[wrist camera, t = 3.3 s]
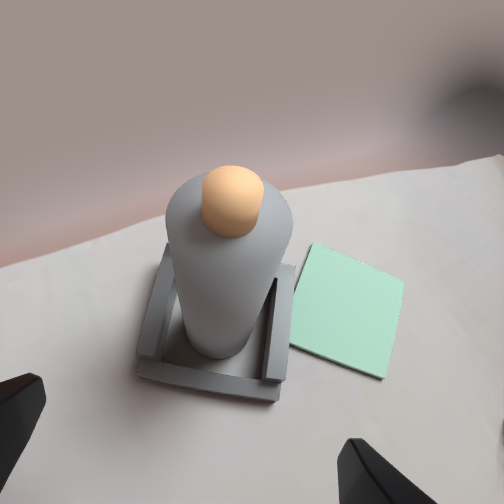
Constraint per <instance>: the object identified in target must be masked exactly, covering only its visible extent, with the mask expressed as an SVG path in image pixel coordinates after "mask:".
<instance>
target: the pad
mask: <svg viewBox="0 0 504 504" xmlns="http://www.w3.org/2000/svg"><path fill="white" fill-rule="evenodd" d="M403 289H404V281H402V280H399V279H397V278H395V277H393V276H391V275H388V274H386V273H384V272H382V271H379V270H377V269H375V268H373V267H370V266H368V265H366V264H364V263H361V262H359V261H357V260H355V259H352V258H350V257H348V256H345V255H343V254H341V253H339V252H336V251H334V250H332V249H329V248H327V247H325V246H322V245H320V244H318V243H315V242H313V244H312V246H311V249H310V252H309V254H308V257H307V260H306V263H305V265H304V268H303V271H302V273H301V276H300V278H299V281H298V284H297V286H296V289H295V292H294V295H293V308H292V319H291V330H290V341H289V344H290V345H293V346H295V347H298V348H300V349H303V350H305V351H308V352H310V353H313V354H315V355H318V356H321V357H323V358H326V359H328V360H331V361H334V362H336V363H339V364H342V365H344V366H347V367H350V368H352V369H355V370H358V371H361V372H363V373H366V374H369V375H372V376H375V377H378V378H380V379H385V377H386V373H387V369H388V365H389V361H390V356H391V352H392V348H393V343H394V338H395V333H396V328H397V323H398V318H399V313H400V307H401V301H402V295H403Z"/></svg>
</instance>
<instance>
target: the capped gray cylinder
mask: <svg viewBox="0 0 504 504" xmlns="http://www.w3.org/2000/svg"><path fill="white" fill-rule="evenodd" d="M166 229H167V235H168V241H169V247H170V253H171V259H172V264H173V270H174V275H175V281H176V286H177V291H178V296H179V301H180V306H181V311H182V316H183V320H184V325H185V330H186V334H187V338H188V340H189V342H190V344H191V345H192V347H193V348H194V349H195V350H196V351H197V352H199V353H200V354H202V355H203V356H206V357H208V358H212V359H225V358H229V357H231V356H234V355H235V354H237V353H238V352H240V351H241V350H242V349H243V348H244V346H245V345H246V343H247V341H248V339H249V337H250V334H251V332H252V330H253V327H254V325H255V323H256V320H257V318H258V315H259V313H260V311H261V308H262V306H263V304H264V301H265V299H266V296H267V294H268V292H269V289H270V287H271V284H272V282H273V280H274V277H275V275H276V272H277V270H278V267H279V265H280V262H281V260H282V258H283V255H284V253H285V250H286V248H287V245H288V243H289V240H290V237H291V234H292V229H293V219H292V214H291V210H290V208H289V205H288V203H287V202H286V200H285V198H284V197H283V196H282V195H281V193H280V192H279V191H278V190H277V189H276V188H275V187H274V186H272V185H271V184H269V183H268V182H266V181H265V180H263V179H261V178H259V177H258V176H257V175H256V174H255V173H253V172H252V171H250V170H248V169H246V168H243V167H239V166H223V167H219V168H216V169H214V170H212V171H211V172H208V173H204V174H201V175H199V176H196V177H194V178H192V179H190V180H189V181H187V182H186V183H184V184H183V185H182V186H181V187H180V188H179V189H178V190H177V191H176V192H175V193H174V195H173V196H172V198H171V200H170V202H169V204H168V207H167V210H166Z"/></svg>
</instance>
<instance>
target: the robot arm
mask: <svg viewBox="0 0 504 504" xmlns="http://www.w3.org/2000/svg"><path fill="white" fill-rule="evenodd" d="M45 403H46V394H45V390H44V385H43V380H42V378H41V377H40V376H38V375H35V374H33V373H27V374H24V375H21V376H18V377H15V378H12V379H9V380H6V381H3V382H0V493H1V491H2V489H3V487H4V485H5V483H6V481H7V479H8V477H9V475H10V474H11V472H12V470H13V468H14V466H15V464H16V463H17V461H18V459H19V457H20V455H21V454H22V452H23V450H24V448H25V447H26V445H27V443H28V441H29V439H30V437H31V435H32V433H33V430H34V428H35V426H36V424H37V421H38V419H39V417H40V415H41V412H42V410H43V408H44V406H45ZM337 468H338V486H339V503H340V504H437V503H436V502H435V501H434V500H432V499H431V498H430V497H429V496H428V495H426V494H425V493H424V492H423V491H422V490H420V489H419V488H418V487H417V486H416V485H415V484H413V483H412V482H411V481H410V480H409V479H407V478H406V477H405V476H404V475H403V474H402V473H400V472H399V471H398V470H397V469H396V468H395V467H394V466H392V465H391V464H390V463H389V462H388V461H387V460H386V459H385V458H383V457H382V456H381V455H380V454H379V453H378V452H377V451H376V450H374V449H373V448H372V447H371V446H370V445H369V444H368V443H367V442H366V441H365V440H363V439H361V438H350V439H348V440H347V441H346V443H345V445H344V447H343V448H342V450H341V452H340V454H339V456H338V459H337Z"/></svg>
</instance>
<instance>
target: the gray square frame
mask: <svg viewBox="0 0 504 504" xmlns="http://www.w3.org/2000/svg"><path fill="white" fill-rule="evenodd" d="M295 269H296V266H293V265H287V264H282V263H280V265H279V267H278V270H277V272H276V275H275V277H274V280H273V282H272V284H271V287H270V289H269V292H271V301H270V310H269V318H268V326H267V335H266V343H265V351H264V359H263V366H262V374H261V380H256V379H249V378H242V377H236V376H230V375H224V374H218V373H213V372H207V371H202V370H197V369H192V368H187V367H182V366H177V365H173V364H168V363H164V362H160V361H161V357H162V352H163V348H164V344H165V339H166V335H167V331H168V326H169V322H170V318H171V314H172V310H173V306H174V302H175V298H176V294H177V286H176V281H175V275H174V270H173V264H172V259H171V253H170V247H169V243H167V244H166V247H165V250H164V254H163V257H162V260H161V263H160V266H159V270H158V273H157V276H156V280H155V283H154V287H153V290H152V294H151V297H150V301H149V304H148V308H147V311H146V315H145V319H144V322H143V326H142V330H141V334H140V338H139V342H138V346H137V350H136V353H137V354H138V355H139V356H140V359H139V363H138V367H137V372H136V374H137V375H138V376H139V377H143V378H147V379H151V380H155V381H159V382H163V383H168V384H172V385H177V386H181V387H186V388H191V389H196V390H201V391H206V392H212V393H218V394H224V395H230V396H236V397H243V398H250V399H257V400H265V401H273V402H276V401H278V400H279V397H280V388H281V383H282V382H283V381H285V380H286V371H287V361H288V351H289V341H290V330H291V319H292V308H293V295H294V283H295Z"/></svg>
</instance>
